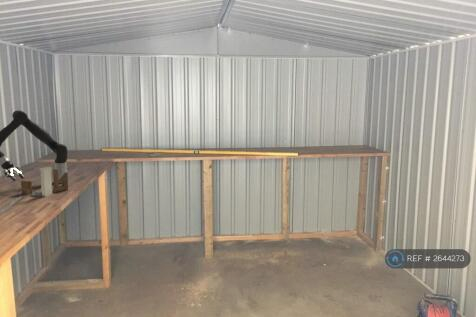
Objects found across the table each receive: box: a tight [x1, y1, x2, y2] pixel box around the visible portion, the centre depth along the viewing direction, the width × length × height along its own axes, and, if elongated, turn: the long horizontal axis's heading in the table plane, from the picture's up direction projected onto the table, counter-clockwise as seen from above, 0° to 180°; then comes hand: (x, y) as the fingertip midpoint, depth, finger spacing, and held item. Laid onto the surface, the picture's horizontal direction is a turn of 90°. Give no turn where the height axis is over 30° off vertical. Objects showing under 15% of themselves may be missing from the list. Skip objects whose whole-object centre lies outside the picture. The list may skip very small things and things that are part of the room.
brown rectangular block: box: [20, 179, 33, 195], centre depth 320 cm, size 4×6×10 cm, turn 78°
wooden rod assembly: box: [52, 168, 69, 193], centre depth 331 cm, size 4×11×18 cm, turn 140°
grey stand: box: [29, 166, 54, 198], centre depth 316 cm, size 11×13×21 cm
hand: (19, 179), depth 320 cm, fingers open, 8 cm apart
